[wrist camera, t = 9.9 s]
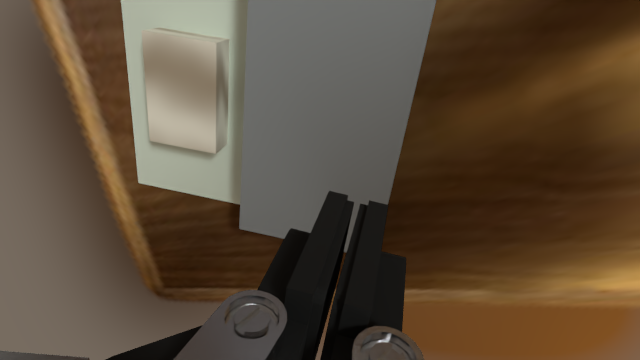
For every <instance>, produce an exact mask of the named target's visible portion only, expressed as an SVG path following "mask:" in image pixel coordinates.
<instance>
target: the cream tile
mask: <svg viewBox="0 0 640 360" xmlns="http://www.w3.org/2000/svg"><path fill="white" fill-rule="evenodd" d="M141 32H142V45H143V58H144V71H145V84H146V97H147V110H148V123H149V136H150V141H153V142H158V143H163V144H168V145H173V146H178V147H183V148H188V149H193V150H198V151H203V152H208V153H213V154H216V153H218V152H219V151H220V150H221V149H222V148H223V147H224V146H225V145H227V144H228V97H229V46H230V39H227V38H221V37H215V36H209V35H202V34H196V33H190V32H184V31H178V30H172V29H166V28H160V27H159V28H153V29H147V30H141Z"/></svg>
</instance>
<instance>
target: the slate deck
mask: <svg viewBox="0 0 640 360" xmlns="http://www.w3.org/2000/svg"><path fill="white" fill-rule="evenodd" d="M435 4H436V0H248V13H247V39H246V65H245V91H244V117H243V143H242V169H241V195H240V221H239V229H242V230H247V231H251V232H256V233H260V234H265V235H269V236H274V237H278V238H283V239H285V237H286V235H287V233H288V231H289V230H290V229H291V228H293V229H297V230H301V231H305V232H309V233H311V231H312V228H313V226H314V224H315V222H316V219H317V217H318V215H319V212H320V210H321V208H322V206H323V203H324V201H325V199H326V196H327V194H328V192H329V191H333V192H337V193H341V194H345V195H348V200H349V201H353V202H354V206H353V211H352V216H351V220H350V225H349V229H348V234H347V239H346V243H345V248H344V252H346V253H347V250H348V246H349V242H350V239H351V235H352V232H353V228H354V224H355V221H356V217H357V214H358V210H359V206H360V203H361V204H365V205H368V203H369V200H370V201H374V202H378V203H383V204H387V205H388V202H389V198H390V194H391V189H392V185H393V181H394V177H395V172H396V168H397V164H398V160H399V156H400V151H401V147H402V143H403V139H404V135H405V130H406V126H407V122H408V118H409V113H410V109H411V105H412V101H413V97H414V92H415V88H416V84H417V80H418V75H419V71H420V67H421V63H422V59H423V54H424V50H425V46H426V42H427V38H428V33H429V29H430V25H431V21H432V16H433V12H434V8H435Z"/></svg>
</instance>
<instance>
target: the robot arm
mask: <svg viewBox="0 0 640 360" xmlns="http://www.w3.org/2000/svg"><path fill="white" fill-rule="evenodd" d="M353 206H354V202H353V201H349V200H348V195H345V194H341V193H337V192H333V191H329V192H328V194H327V196H326V199H325V201H324V203H323V206H322V208H321V210H320V212H319V215H318V217H317V219H316V222H315V224H314V226H313V228H312V231H311V233H309V232H305V231H301V230H297V229H293V228H291V229H290V230H289V231H288V233H287V235H286V237H285V239H284V240H283V242H282V244H281V246H280V248H279V250H278V252H277V254H276V256H275V258H274V259H273V261H272V263H271V265H270V267H269V269H268V271H267V273H266V275H265V276H264V278H263V280H262V282H261V284H260V286H259V288H258V290H247V291H242V292H238V293H236V294H234V295H232V296H230V297H228V298H227V299H226V300H225V301H224V302H223V303H222V304H221V305H220V306H219V307H218V308H217V310H216V311H215V312H214V313H213V314H212V315H211V317H210V318H209V319H208V320H207V321H206V322H205V323H204V325H202V326H199V327H196V328H194V329H191V330H188V331H185V332H182V333H179V334H176V335H173V336H170V337H167V338H165V339H162V340H159V341H156V342H153V343H150V344H147V345H144V346H141V347H138V348H135V349H133V350H130V351H127V352H124V353H121V354H118V355H115V356H112V357H110V358H108V359H106V360H315V358H316V354H317V351H318V347H319V344H320V340H321V337H322V333H323V330H324V326H325V322H326V319H327V315H328V312H329V308H330V305H331V301H332V298H333V294H334V291H335V287H336V283H337V279H338V275H339V271H340V266H341V262H342V257H343V252H344V248H345V243H346V239H347V234H348V229H349V225H350V220H351V216H352V211H353ZM387 210H388V205H387V204H383V203H378V202H374V201H370V200H369V203H368V205H365V204H361V203H360V206H359V210H358V214H357V217H356V221H355V224H354V228H353V232H352V235H351V239H350V242H349V246H348V250H347V253H346V257H345V260H344V264H343V268H342V271H341V275H340V278H339V282H338V286H337V289H336V293H335V297H334V301H333V305H332V310H331V314H330V318H329V323H328V327H327V332H326V337H325V341H324V346H323V350H322V355H321V360H424V358H423V355H422V352H421V350H420V349H419V348H418V346H417V344H416V343H415V342H414V341H413V340H412V339H411V338H409V337H408V336H407V335H406V334H404V333H402V321H403V306H404V290H405V273H406V258H405V257H401V256H397V255H394V254H390V253H386V252H382V251H381V249H382V242H383V236H384V229H385V223H386V216H387ZM0 360H90V359H89V358H85V357H72V356H59V355H47V354H34V353H20V352H8V351H0Z"/></svg>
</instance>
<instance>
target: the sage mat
mask: <svg viewBox="0 0 640 360" xmlns="http://www.w3.org/2000/svg"><path fill="white" fill-rule="evenodd" d="M121 5H122V16H123V26H124V37H125V47H126V58H127V68H128V79H129V89H130V100H131V110H132V121H133V131H134V142H135V152H136V162H137V173H138V183H141V184H146V185H151V186H155V187H160V188H165V189H169V190H174V191H179V192H183V193H188V194H193V195H197V196H202V197H207V198H211V199H216V200H221V201H226V202H230V203H235V204H240V195H241V169H242V143H243V117H244V91H245V65H246V39H247V13H248V0H121ZM159 27H160V28H166V29H172V30H178V31H184V32H190V33H196V34H202V35H209V36H215V37H221V38H227V39H230V46H229V97H228V144H227V145H225V146H224V147H223V148H222V149H221V150H220V151H219V152H218V153H216V154H213V153H208V152H203V151H198V150H193V149H188V148H183V147H178V146H173V145H168V144H163V143H158V142H153V141H150V136H149V123H148V110H147V97H146V84H145V71H144V58H143V45H142V32H141V30H147V29H153V28H159Z"/></svg>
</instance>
